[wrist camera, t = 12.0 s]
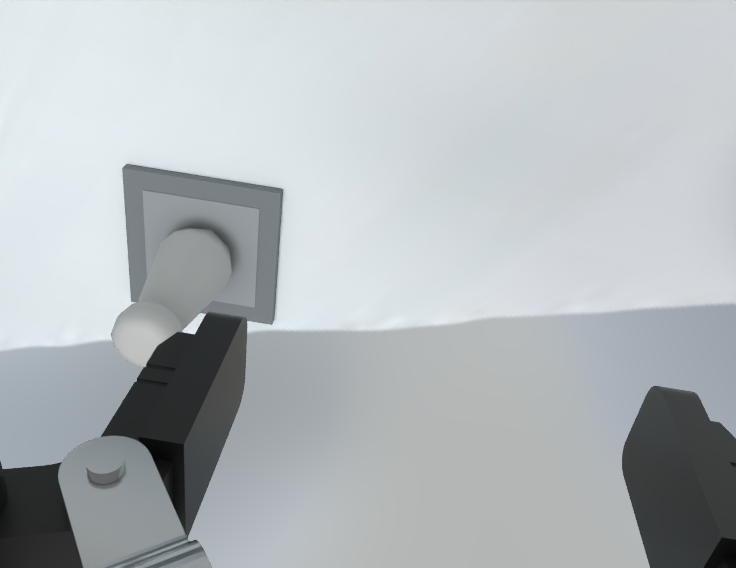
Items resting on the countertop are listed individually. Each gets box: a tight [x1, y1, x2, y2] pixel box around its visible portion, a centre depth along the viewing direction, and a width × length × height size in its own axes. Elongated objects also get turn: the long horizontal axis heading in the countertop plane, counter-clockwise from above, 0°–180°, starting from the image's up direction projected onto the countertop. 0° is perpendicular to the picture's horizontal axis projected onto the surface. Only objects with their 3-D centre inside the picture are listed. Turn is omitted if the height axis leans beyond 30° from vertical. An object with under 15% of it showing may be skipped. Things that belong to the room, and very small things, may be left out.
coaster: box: [122, 164, 283, 325], centre depth 54 cm, size 12×12×1 cm
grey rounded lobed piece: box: [111, 228, 232, 367], centre depth 48 cm, size 6×6×13 cm
